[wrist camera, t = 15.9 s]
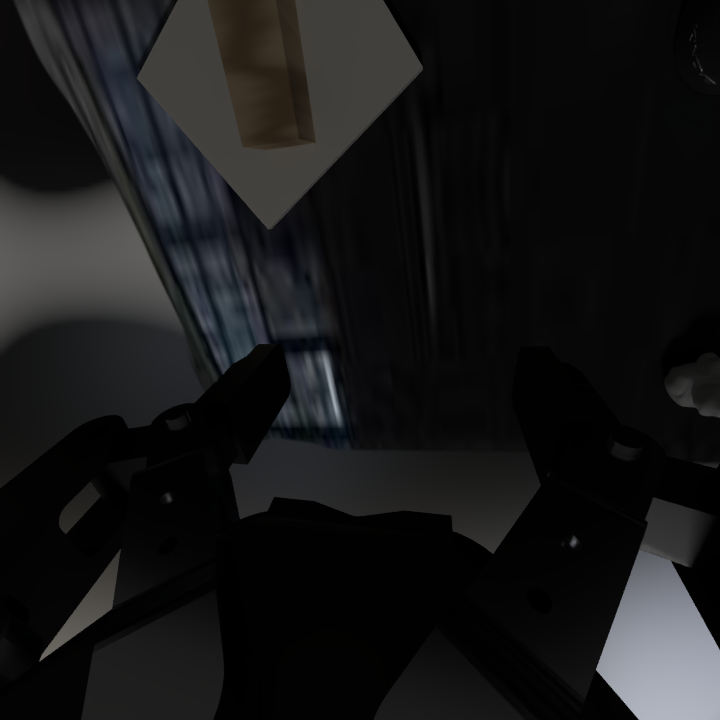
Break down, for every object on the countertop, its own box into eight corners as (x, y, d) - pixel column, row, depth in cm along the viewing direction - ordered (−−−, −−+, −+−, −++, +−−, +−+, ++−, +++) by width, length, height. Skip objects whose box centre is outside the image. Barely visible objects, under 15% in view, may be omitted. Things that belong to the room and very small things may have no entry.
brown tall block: (316, 143, 31) (291, -27, 25) (299, 139, 26) (264, -66, 21) (266, 150, 32) (232, -12, 26) (242, 147, 27) (196, -46, 22)
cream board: (279, -171, 23) (274, -184, 22) (422, 70, 28) (422, 66, 27) (144, 80, 31) (136, 78, 30) (272, 228, 36) (268, 229, 35)
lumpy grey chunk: (644, 390, 39) (692, 437, 32) (674, 341, 35) (734, 382, 29) (695, 396, 38) (754, 445, 31) (730, 346, 35) (805, 390, 28)
